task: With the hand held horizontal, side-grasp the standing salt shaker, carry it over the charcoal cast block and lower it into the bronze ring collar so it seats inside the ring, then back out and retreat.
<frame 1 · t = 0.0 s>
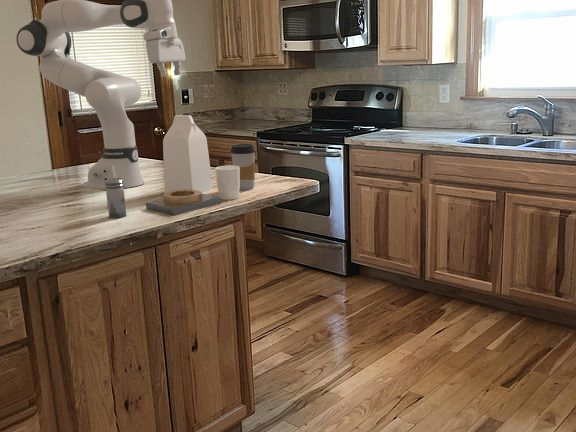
hand: (171, 75, 212), 39 cm above the countertop, tool pointing down, fingers open, 8 cm apart
salt shaker: (117, 216, 183), on the countertop
ring block: (183, 205, 193), on the countertop
coffee cup: (245, 189, 214), on the countertop
milk: (189, 192, 213), on the countertop
white cup: (229, 198, 202), on the countertop
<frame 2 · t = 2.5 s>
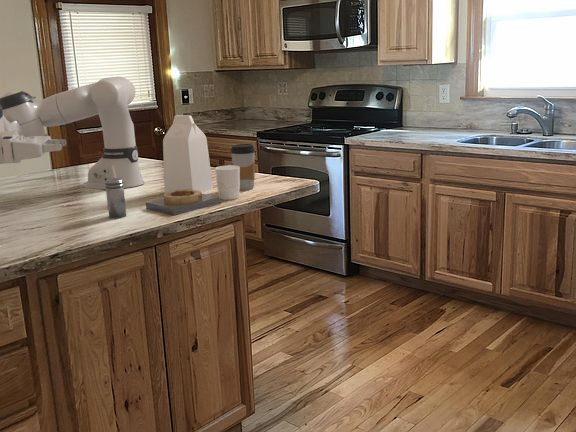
hand: (63, 144, 175), 22 cm above the countertop, tool horizontal, fingers open, 8 cm apart
nothing on the countertop moved.
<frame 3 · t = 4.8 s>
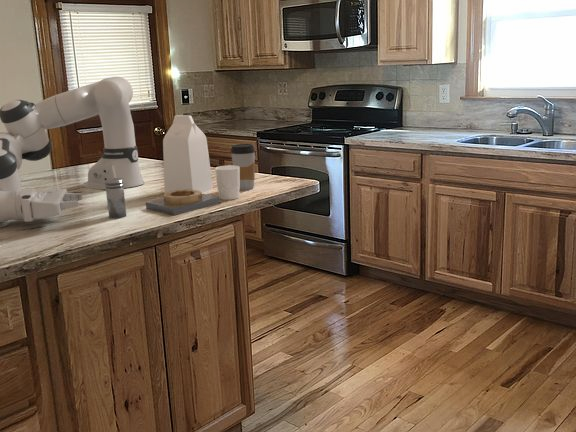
hand: (80, 199, 179), 6 cm above the countertop, tool horizontal, fingers open, 8 cm apart
nothing on the countertop moved.
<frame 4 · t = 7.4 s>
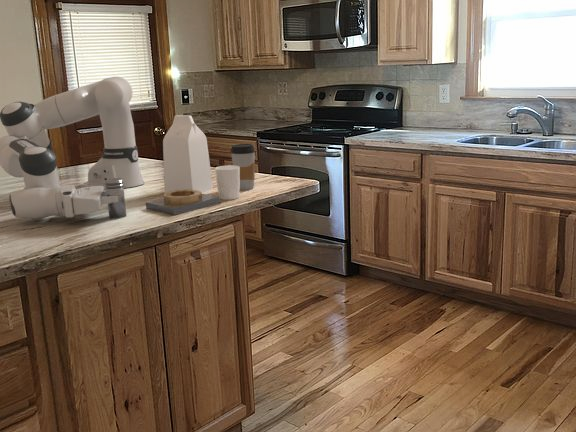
hand: (118, 196, 182), 6 cm above the countertop, tool horizontal, fingers closed on salt shaker, 5 cm apart
salt shaker: (117, 216, 183), on the countertop, touching gripper
everything else where it was.
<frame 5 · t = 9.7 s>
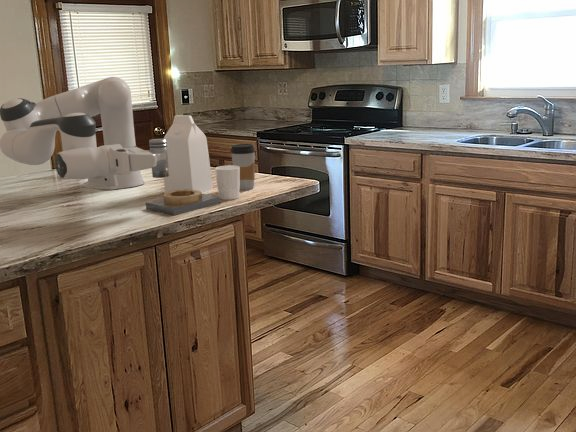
hand: (162, 154, 185), 17 cm above the countertop, tool horizontal, fingers closed on salt shaker, 5 cm apart
salt shaker: (161, 176, 186), point 10 cm above the countertop, touching gripper
everything else where it was.
when the fingers open (9 cm above the countertop, at t = 12.1 s): salt shaker stays where it is, resting on ring block.
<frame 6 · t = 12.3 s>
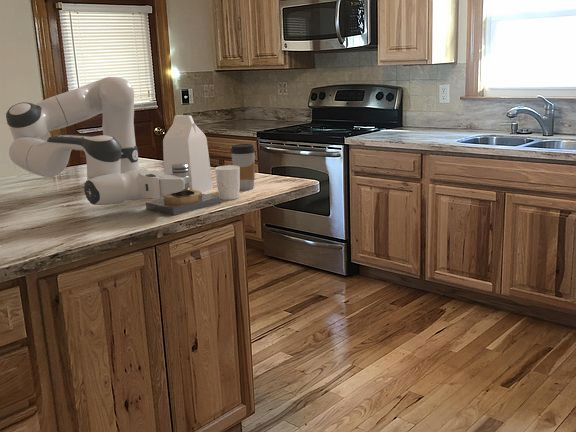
hand: (183, 177, 191), 9 cm above the countertop, tool horizontal, fingers open, 7 cm apart
salt shaker: (182, 199, 192), point 2 cm above the countertop, touching ring block
everything else where it was.
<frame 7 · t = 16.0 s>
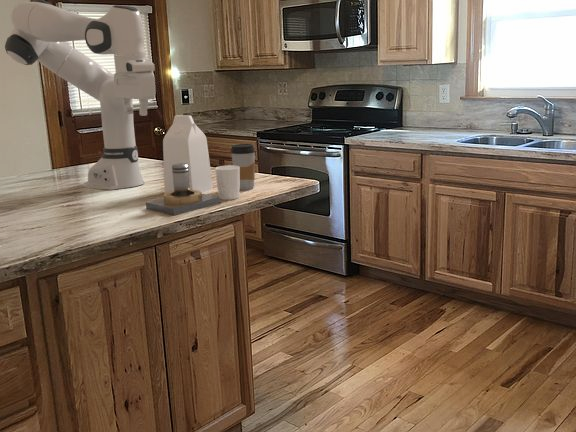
hand: (136, 114, 178), 29 cm above the countertop, tool pointing down, fingers open, 8 cm apart
nothing on the countertop moved.
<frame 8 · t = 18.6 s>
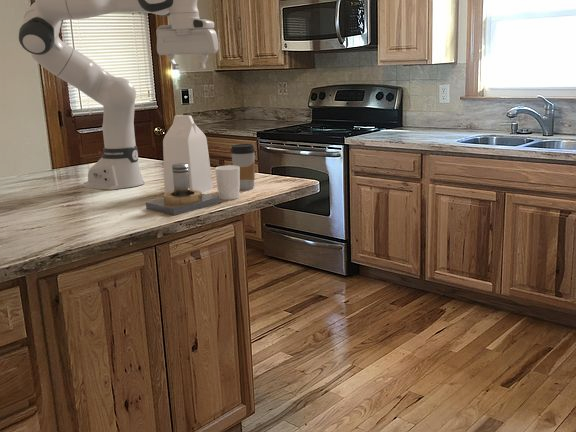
hand: (188, 69, 197), 41 cm above the countertop, tool pointing down, fingers open, 8 cm apart
nothing on the countertop moved.
at the end: salt shaker 0.0 cm off-centre on the ring block, point 2.0 cm above the ring block's base; salt shaker tilted 1°; the gripper is holding nothing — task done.
